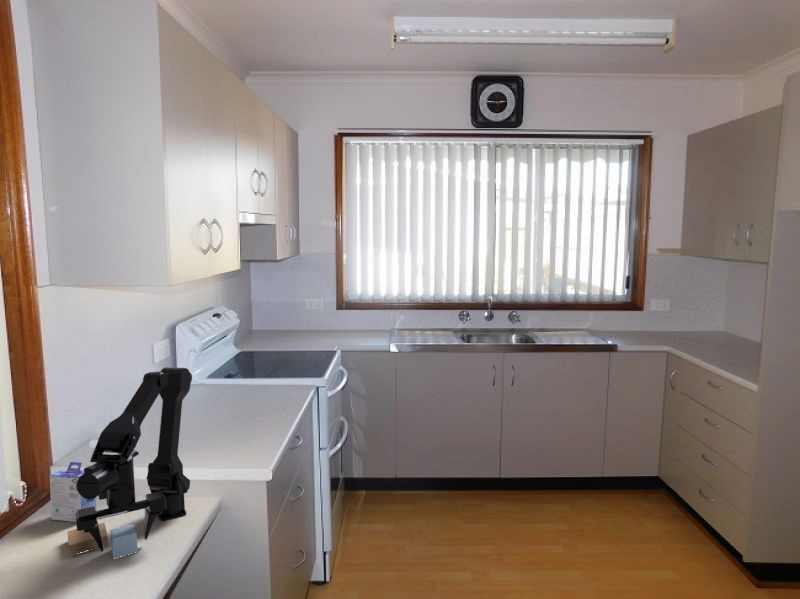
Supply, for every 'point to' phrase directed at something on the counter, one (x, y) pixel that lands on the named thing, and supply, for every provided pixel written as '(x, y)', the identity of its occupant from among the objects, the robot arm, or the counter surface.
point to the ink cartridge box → (67, 494)
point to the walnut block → (85, 540)
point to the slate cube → (124, 541)
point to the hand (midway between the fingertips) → (124, 544)
